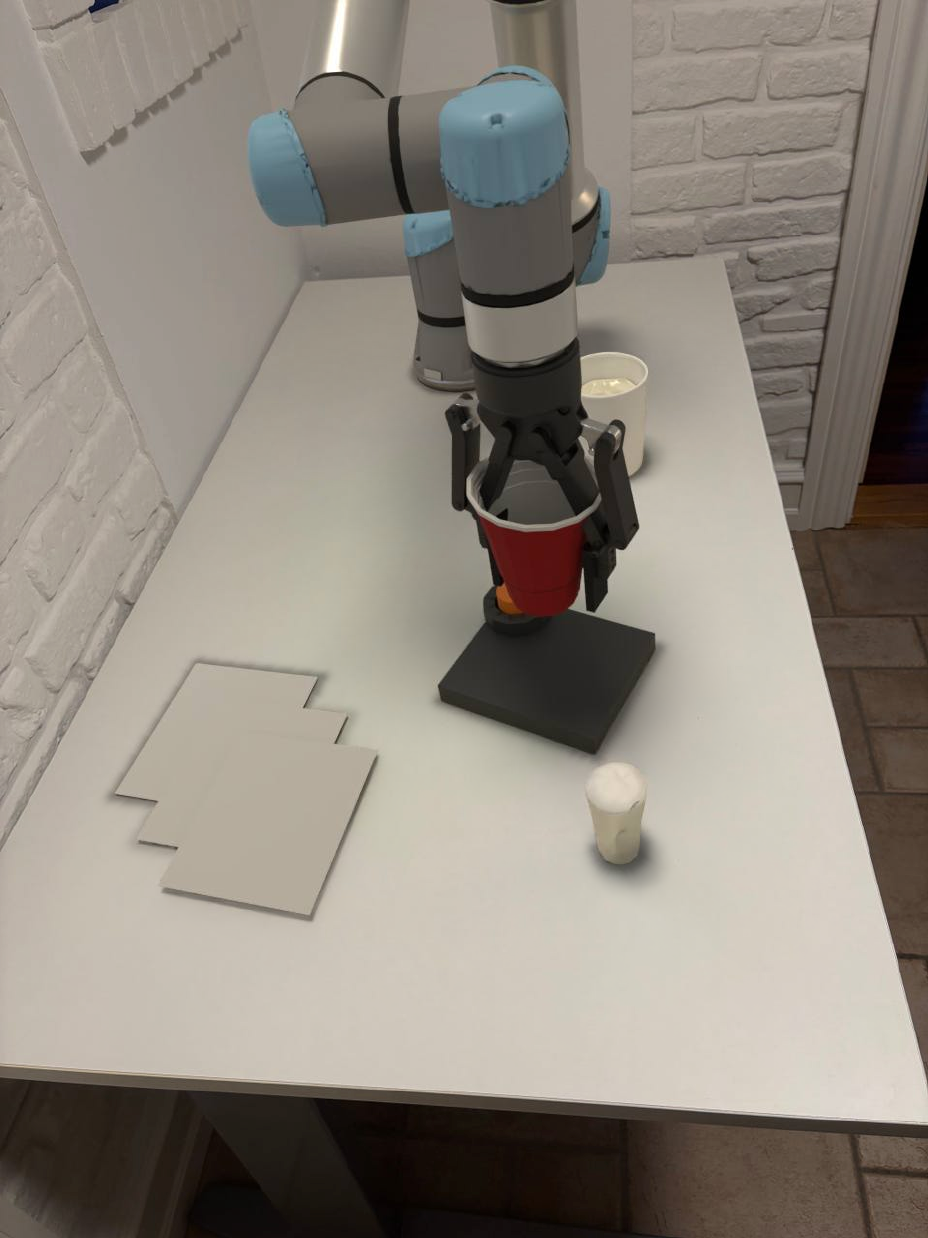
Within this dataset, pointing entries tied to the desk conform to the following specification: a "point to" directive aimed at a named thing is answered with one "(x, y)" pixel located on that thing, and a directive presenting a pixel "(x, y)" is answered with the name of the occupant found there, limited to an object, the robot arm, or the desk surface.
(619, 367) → the white paper cup
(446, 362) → the robot arm
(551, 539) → the plastic cup
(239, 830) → the paper stack
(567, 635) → the dark grey flat block
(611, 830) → the milkshake
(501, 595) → the button
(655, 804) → the desk surface
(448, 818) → the desk surface
